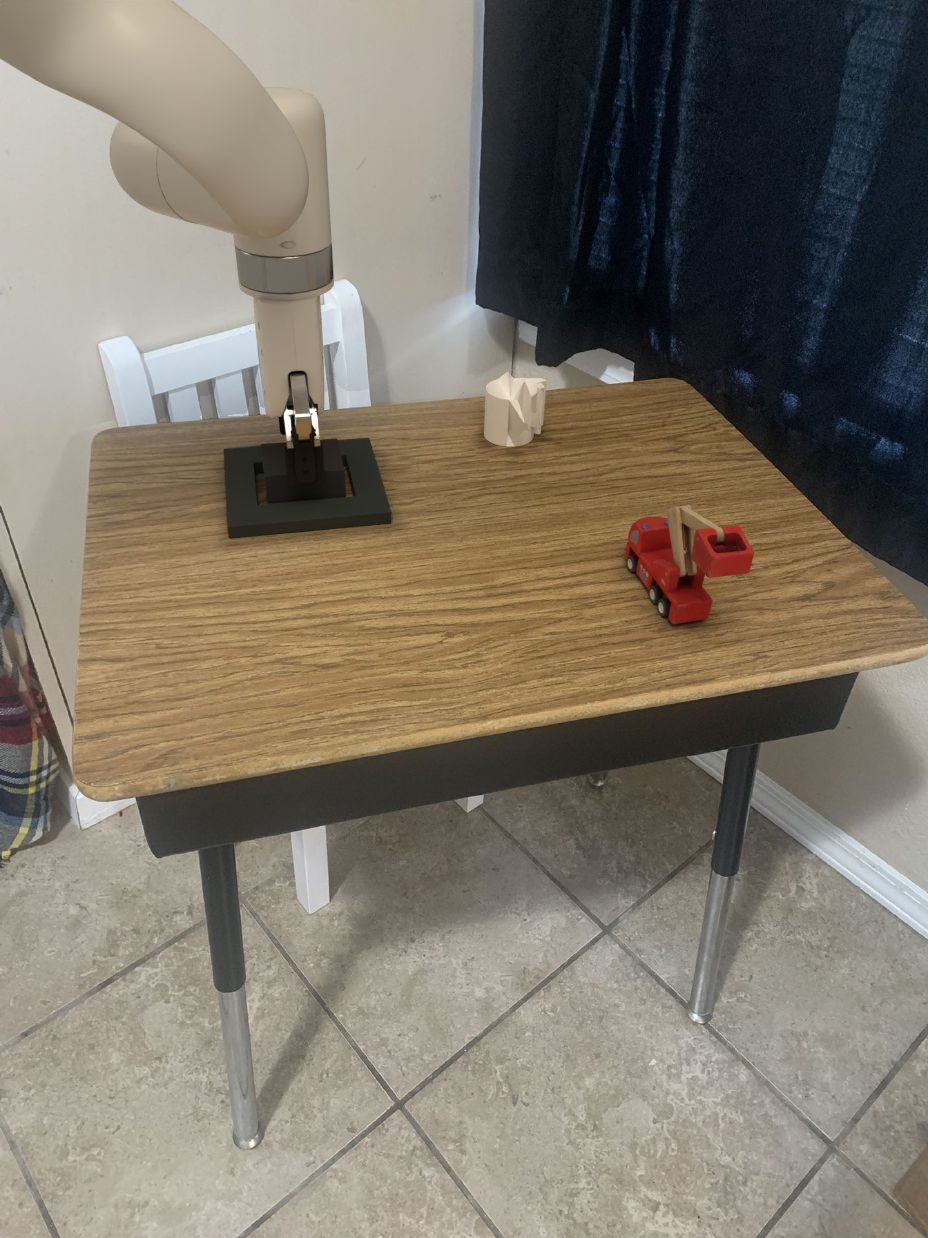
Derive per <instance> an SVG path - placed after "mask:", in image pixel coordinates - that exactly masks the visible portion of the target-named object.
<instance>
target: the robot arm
mask: <svg viewBox="0 0 928 1238" xmlns="http://www.w3.org/2000/svg"><path fill="white" fill-rule="evenodd" d="M0 60H1V61H3V62H5V63H6V64H8V65H9V66H11V67H12V68H15V69H16V70H17V71H19V72H20V73H22V74H24V75H26V76H28V77H30V78H31V79H33V80H34V81H37V82H38V83H40V84H42V85H44V86H46V87H48V88H50V89H52V90H55V91H57V92H59V93H60V94H63V95H66V96H68V97H70V98H72V99H75V100H77V101H79V102H81V103H83V104H86V105H88V106H90V107H92V108H94V109H96V110H98V111H100V112H102V113H104V114H107V116H110V117H112V118H114V119H115V120H117V121H118V122H117V123H116V125H115V126H114V129H113V131H112V134H111V137H110V143H109V162H110V166H111V170H112V173H113V175H114V177H115V179H116V181H117V183H118V185H119V186H120V187H121V189H122V190H123V191H124V192H125V193H126V194H127V196H128V197H130V198H131V200H133V201H134V202H135V203H137V204H139V206H142V207H144V208H145V209H147V210H149V211H151V212H154V213H156V214H159V215H161V216H165V217H168V218H173V219H175V220H180V221H183V222H187V223H189V224H190V223H191V224H194V225H200V226H204V227H208V228H211V229H214V230H217V231H221V232H224V233H227V234H230V235H233V246H234V253H235V263H236V270H237V278H238V288H239V289H240V291H241V292H243V293H244V294H245V295H247V296H249V297H252V301H253V303H252V304H253V316H254V317H253V318H254V329H255V337H256V347H257V357H258V365H259V374H260V383H261V390H262V397H263V404H264V411H265V412H264V413H265V415H266V416H267V417H268V418H269V419H271V420H274V419H275V418H278V427H279V428H278V429H279V434H280V435H281V436H285V442H287V444H284V454H285V464H286V474H287V484H288V487H290V488H302V487H314V486H322V485H324V484H325V471H324V456H323V443H322V441H320V440H321V436H320V427H319V419H318V416H320V415H321V414H322V413H324V411H325V359H324V358H325V357H324V356H325V355H324V337H323V319H322V303H321V296H322V295H324V294H327V293H328V292H330V291H331V290H332V289H333V288H334V285H335V276H334V275H335V274H334V258H333V257H334V255H333V242H332V225H331V224H332V223H331V208H330V189H329V172H328V170H329V169H328V154H327V153H328V151H327V133H326V121H325V113H324V109H323V107H322V104H321V102H319V100H318V98H317V97H315V96H314V95H313V94H311V93H310V92H308V91H304V90H302V89H298V88H293V87H284V86H283V87H281V86H264V85H263V84H262V83H261V82H260V80H259V79H258V78H257V76H256V75H255V74H254V73H253V71H252V70H251V69H250V68H249V66H247V64H246V63H245V62H244V61H243V60H242V59H241V58H240V57H239V56H238V54H236V53H235V52H234V50H233V49H231V48H230V47H229V46H228V45H227V44H226V43H225V41H223V40H222V39H221V38H220V37H219V36H218V35H217V34H215V33H214V32H213V31H212V30H211V29H210V28H208V27H207V26H205V24H203V23H202V21H200V20H198V18H196V17H195V16H193V15H192V14H190V13H189V12H188V11H186V10H185V8H183V7H182V6H180V5H179V4H178V3H177V2H175V1H174V0H0Z"/></svg>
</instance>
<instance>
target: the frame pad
mask: <svg viewBox="0 0 928 1238" xmlns="http://www.w3.org/2000/svg"><path fill="white" fill-rule="evenodd" d="M337 440H338V444H339V448H340V453H341V457H342V461H343V465H344V467H346V470H347V474H348V478H349V482H350V487H351V492H352V494H353V495H352V496H346V497H340V498H329V499H317V500H306V501H294V502H283V503H272V504H267V503H262V504H261V503H260V504H259V499H258V489H257V480H256V479H257V478H256V474H264V471H263V461H262V452H261V445H255V446H254V445H253V446H240V447H229V448H223V466H224V469H223V470H224V487H225V488H224V489H225V507H226V509H225V510H226V527H227V535H228V538H229V539H237V538H246V537H257V536H269V535H278V534H289V533H290V534H291V533H300V532H313V531H321V530H332V529H343V528H354V527H355V528H356V527H366V526H374V525H375V526H376V525H384V524H385V525H386V524H392V509H391V506H390V503H389V500H388V496H387V492H386V489H385V487H384V483H383V482H384V481H383V480H382V475H381V472H380V469H379V466H378V462H377V459H376V455H375V452H374V449H373V446H372V443H371V439H370V437H357V438H346V439H345V438H344V439H337Z"/></svg>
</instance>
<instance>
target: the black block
mask: <svg viewBox="0 0 928 1238" xmlns="http://www.w3.org/2000/svg"><path fill="white" fill-rule="evenodd" d="M338 440H339V439H338V438H323V439H322V438H321V439H320V441H322V443H323V456H324V471H325V484H324V485H322V486H314V487H302V488H290V487H288V484H287V474H286V464H285V454H284V444H287V442H286V441H285V442H271V443H261V444H260V446H261V452H262V461H263V471H264V472H263V479H264V487H265V488H264V489H265V497H266V504H272V503H283V502H294V501H306V500H317V499H329V498H340V497H347V490H346V489H347V488H346V485H347V484H346V469H345V466H344V465H343V461H342V457H341V453H340V448H339V444H338Z"/></svg>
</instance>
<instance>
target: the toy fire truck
mask: <svg viewBox="0 0 928 1238" xmlns="http://www.w3.org/2000/svg"><path fill="white" fill-rule="evenodd" d="M754 554H755V550H754V548H753V547H752V544H750V541H749V540H748V538H747V536H746V535H745V533H744V531H743V529H742V527H741V526H740V525H738V524H734V525H733V524H732V525H725V526H719V525H717V524H715V523H714V522H712V521H711V520H709V519H707V518H705V517H704V516H702V515H700V513H698V512H696V511H694V510H693V509H692V505H690V504H686V505H681V506H677V505H676V506H673V507H671V508H669V509H667V510H666V517H663V516H645V517H642V518H640V519H637V520H636V521H634V522H633V523H632V524H631V525H630V528H629V531H628V535H627V543H626V545H625V553H624V557H625V560H626V567H627V569H628V571H629V572H630V573H636V575H637V576H638V578H639V579H640V581H641V582H642V583H643V585H644V586H645V588H646V589H647V590H648V596H649V599H650V602H651V603H653V604H657V611H658V614H659V616H660V617H668V620H669V622H670V623H671V624H672V625H679V624H685V623H690V622H691V623H692V622H696V621H700V620H701V621H703V620H707V619H709V617H710V613H711V608H712V604H713V603H714V601H713V598H712V597H711V596H710V595H709V593H708V592H707V591H706V589H705V588H704V587H703V584H704V581H705V577H706V578H708V579H715V578H721V577H729V576H736V575H738V576H739V575H744V574H745V575H747V574H750V572H751V568H752V564H753V559H754V556H755V555H754Z"/></svg>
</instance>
